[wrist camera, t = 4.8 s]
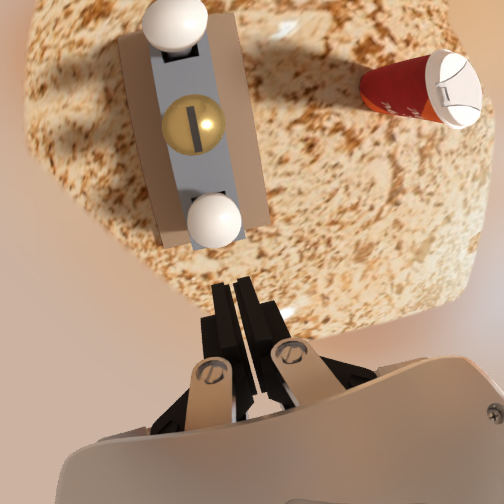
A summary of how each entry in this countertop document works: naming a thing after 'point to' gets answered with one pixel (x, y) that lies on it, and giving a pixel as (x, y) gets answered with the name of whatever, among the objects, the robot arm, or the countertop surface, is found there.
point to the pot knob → (193, 124)
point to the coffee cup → (426, 89)
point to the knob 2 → (213, 220)
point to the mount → (212, 162)
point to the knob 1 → (175, 26)
